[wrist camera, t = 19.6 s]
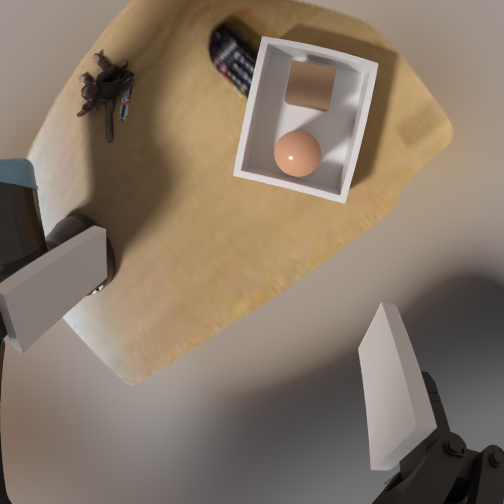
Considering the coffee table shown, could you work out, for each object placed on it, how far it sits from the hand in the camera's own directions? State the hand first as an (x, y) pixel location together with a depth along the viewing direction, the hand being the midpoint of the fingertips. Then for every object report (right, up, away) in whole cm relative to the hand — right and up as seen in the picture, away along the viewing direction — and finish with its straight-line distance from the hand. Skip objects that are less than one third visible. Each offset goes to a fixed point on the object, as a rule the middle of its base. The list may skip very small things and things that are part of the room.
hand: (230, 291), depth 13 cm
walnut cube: (+8, +22, +20) cm, 31 cm away
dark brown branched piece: (-22, +27, +25) cm, 43 cm away
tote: (+8, +19, +22) cm, 30 cm away
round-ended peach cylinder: (+7, +15, +24) cm, 29 cm away
